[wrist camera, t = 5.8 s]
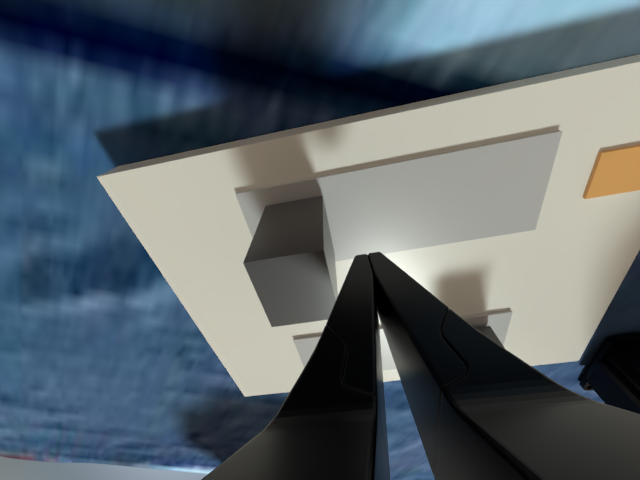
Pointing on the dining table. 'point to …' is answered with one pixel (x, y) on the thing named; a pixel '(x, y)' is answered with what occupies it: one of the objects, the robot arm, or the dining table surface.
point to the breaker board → (415, 214)
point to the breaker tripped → (293, 262)
